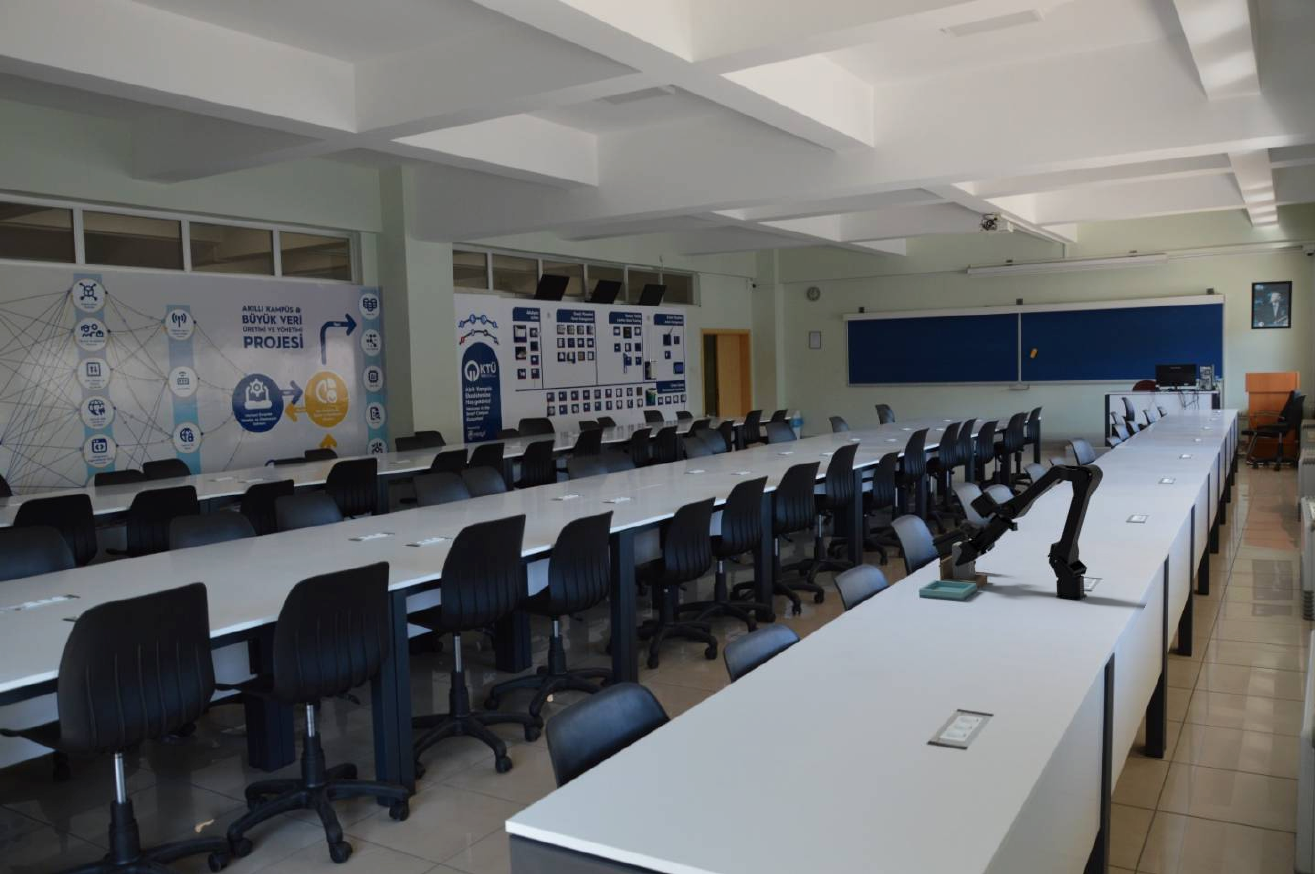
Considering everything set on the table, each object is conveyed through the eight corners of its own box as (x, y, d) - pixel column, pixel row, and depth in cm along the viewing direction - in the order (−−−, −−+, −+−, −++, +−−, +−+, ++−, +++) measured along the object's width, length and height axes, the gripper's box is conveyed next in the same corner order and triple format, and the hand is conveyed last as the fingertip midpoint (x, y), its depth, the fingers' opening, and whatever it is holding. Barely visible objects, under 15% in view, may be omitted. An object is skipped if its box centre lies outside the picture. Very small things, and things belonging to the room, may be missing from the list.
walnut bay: (987, 582, 306) (986, 557, 306) (976, 590, 297) (975, 564, 296) (952, 579, 313) (951, 555, 312) (940, 587, 303) (939, 561, 303)
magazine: (983, 569, 318) (961, 527, 320) (946, 584, 324) (925, 543, 326) (985, 566, 321) (963, 525, 323) (949, 581, 327) (928, 541, 330)
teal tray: (977, 591, 296) (976, 583, 295) (962, 601, 285) (962, 593, 284) (935, 587, 303) (934, 580, 303) (919, 597, 292) (919, 589, 292)
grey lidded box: (975, 583, 305) (973, 542, 305) (969, 587, 301) (967, 545, 300) (959, 582, 308) (957, 541, 308) (953, 585, 304) (951, 544, 303)
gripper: (983, 506, 308) (950, 539, 316) (964, 515, 293) (930, 550, 300) (1009, 532, 304) (975, 565, 312) (991, 543, 289) (956, 577, 296)
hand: (959, 563), depth 305 cm, fingers closed on grey lidded box, 5 cm apart
